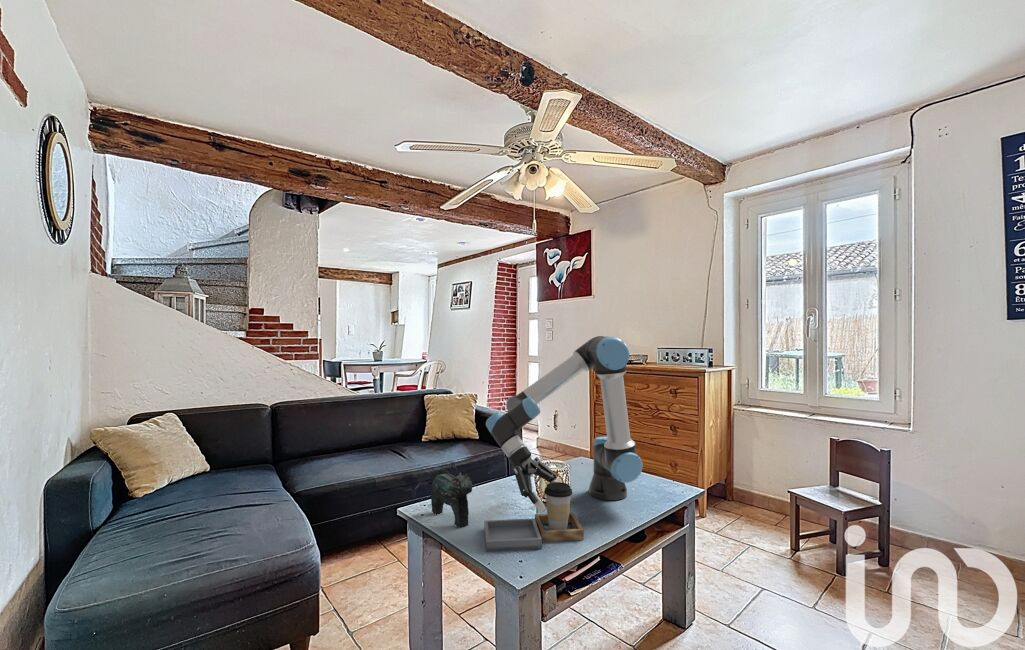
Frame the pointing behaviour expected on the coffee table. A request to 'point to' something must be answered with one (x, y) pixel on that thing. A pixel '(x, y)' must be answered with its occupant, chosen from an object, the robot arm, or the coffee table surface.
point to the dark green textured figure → (452, 495)
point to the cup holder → (559, 534)
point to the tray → (512, 535)
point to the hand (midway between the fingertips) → (553, 504)
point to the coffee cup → (558, 504)
